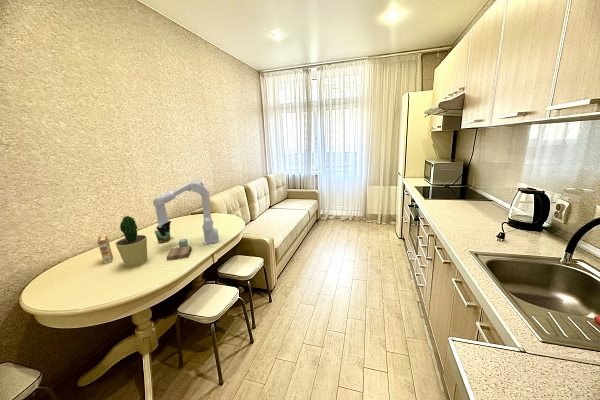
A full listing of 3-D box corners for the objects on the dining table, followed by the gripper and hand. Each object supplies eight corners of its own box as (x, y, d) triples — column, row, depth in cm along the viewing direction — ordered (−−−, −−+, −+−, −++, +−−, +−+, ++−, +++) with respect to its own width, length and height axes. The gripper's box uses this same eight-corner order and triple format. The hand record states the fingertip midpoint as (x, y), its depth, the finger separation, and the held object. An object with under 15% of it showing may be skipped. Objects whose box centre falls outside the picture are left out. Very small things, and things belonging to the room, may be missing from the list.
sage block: (188, 245, 166) (186, 238, 165) (186, 247, 162) (185, 241, 161) (181, 246, 165) (179, 239, 164) (179, 248, 161) (178, 242, 160)
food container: (164, 244, 170) (161, 231, 167) (156, 243, 171) (154, 230, 168) (176, 237, 181) (173, 224, 179) (169, 237, 183) (166, 224, 180)
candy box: (112, 262, 147) (106, 239, 143) (103, 264, 144) (97, 240, 141) (113, 256, 154) (107, 234, 150) (104, 258, 152) (98, 236, 148)
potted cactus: (124, 259, 149) (113, 214, 141) (153, 254, 155) (143, 210, 147) (117, 271, 135) (104, 221, 128) (149, 265, 141) (138, 216, 133)
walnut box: (191, 250, 160) (191, 245, 159) (188, 258, 148) (187, 253, 147) (172, 252, 157) (171, 248, 156) (167, 261, 145) (166, 256, 145)
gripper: (159, 212, 164) (163, 230, 168) (150, 218, 150) (155, 238, 154) (170, 211, 166) (173, 229, 169) (163, 217, 152) (166, 237, 155)
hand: (165, 234), depth 161 cm, fingers open, 7 cm apart
